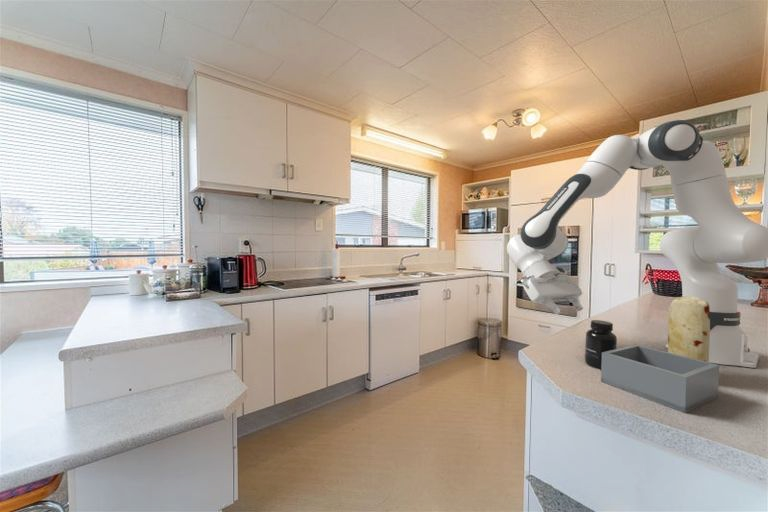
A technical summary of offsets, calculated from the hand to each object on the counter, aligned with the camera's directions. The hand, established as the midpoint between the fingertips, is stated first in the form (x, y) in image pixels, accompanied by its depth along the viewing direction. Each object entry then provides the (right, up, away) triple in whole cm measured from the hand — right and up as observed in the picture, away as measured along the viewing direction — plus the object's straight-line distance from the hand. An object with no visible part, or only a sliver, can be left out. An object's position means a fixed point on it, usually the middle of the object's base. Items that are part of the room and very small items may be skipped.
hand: (570, 311), depth 89 cm
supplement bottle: (+3, -14, -7) cm, 16 cm away
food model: (+21, -14, -14) cm, 29 cm away
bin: (+7, -14, -21) cm, 26 cm away
